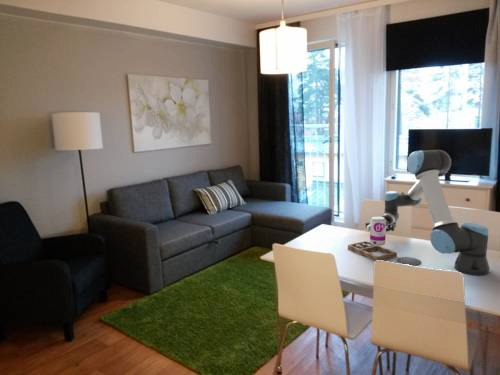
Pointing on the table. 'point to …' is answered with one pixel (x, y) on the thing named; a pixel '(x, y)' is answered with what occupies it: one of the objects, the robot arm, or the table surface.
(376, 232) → the supplement can
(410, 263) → the coaster
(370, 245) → the parts tray
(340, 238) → the table surface
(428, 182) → the robot arm
